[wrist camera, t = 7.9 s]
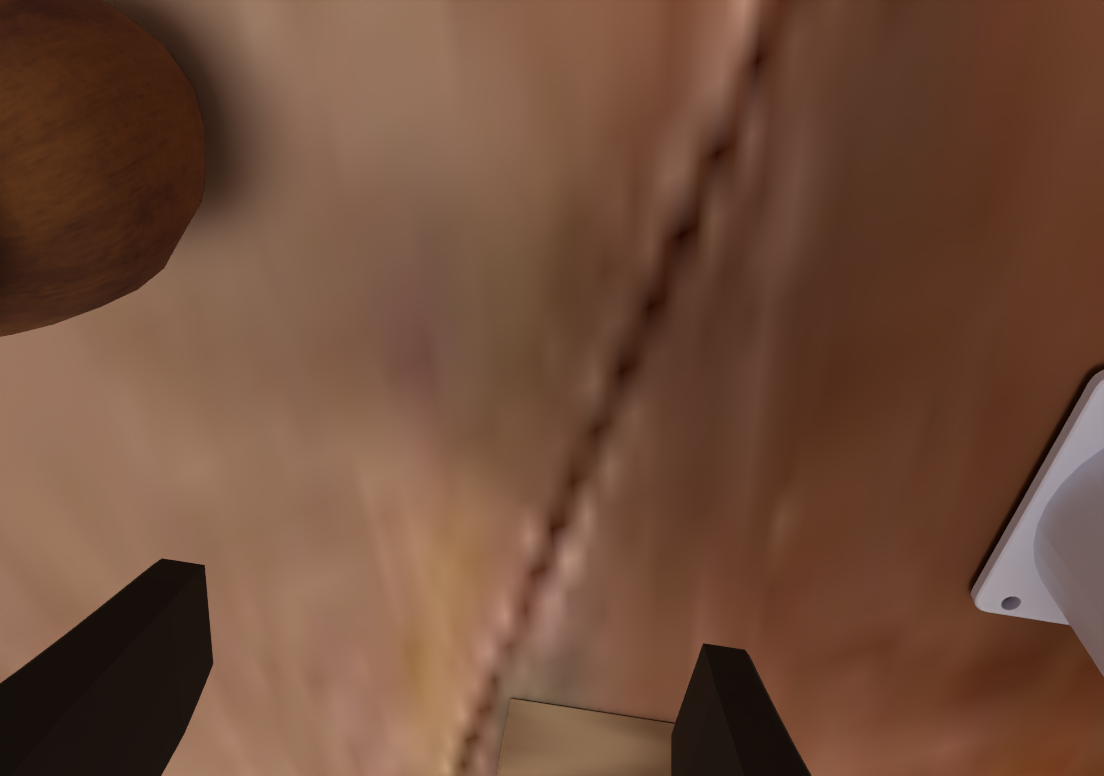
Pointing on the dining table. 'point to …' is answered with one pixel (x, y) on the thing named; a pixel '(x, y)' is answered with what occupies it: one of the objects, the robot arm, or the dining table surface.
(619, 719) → the base block
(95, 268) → the wooden figurine
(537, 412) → the dining table surface
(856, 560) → the dining table surface
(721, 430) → the dining table surface
